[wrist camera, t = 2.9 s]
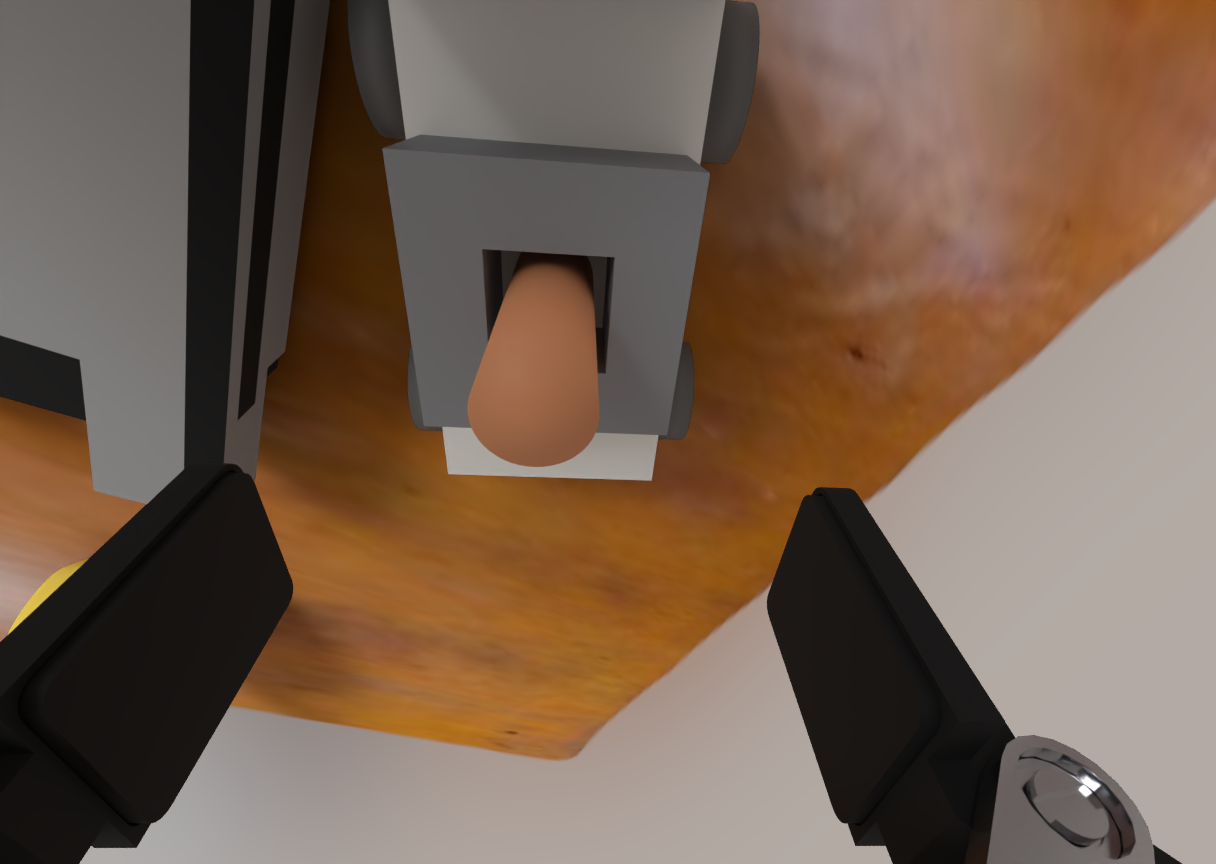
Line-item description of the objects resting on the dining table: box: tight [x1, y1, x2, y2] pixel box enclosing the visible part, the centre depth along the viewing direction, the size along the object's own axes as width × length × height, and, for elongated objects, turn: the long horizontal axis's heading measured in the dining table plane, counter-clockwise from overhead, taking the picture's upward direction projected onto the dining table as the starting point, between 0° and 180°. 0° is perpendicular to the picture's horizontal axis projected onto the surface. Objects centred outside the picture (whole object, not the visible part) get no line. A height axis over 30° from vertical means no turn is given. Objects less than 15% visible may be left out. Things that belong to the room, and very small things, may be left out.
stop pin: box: [467, 252, 599, 467], centre depth 16 cm, size 3×3×10 cm
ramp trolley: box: [347, 0, 759, 481], centre depth 19 cm, size 20×13×14 cm, turn 176°
